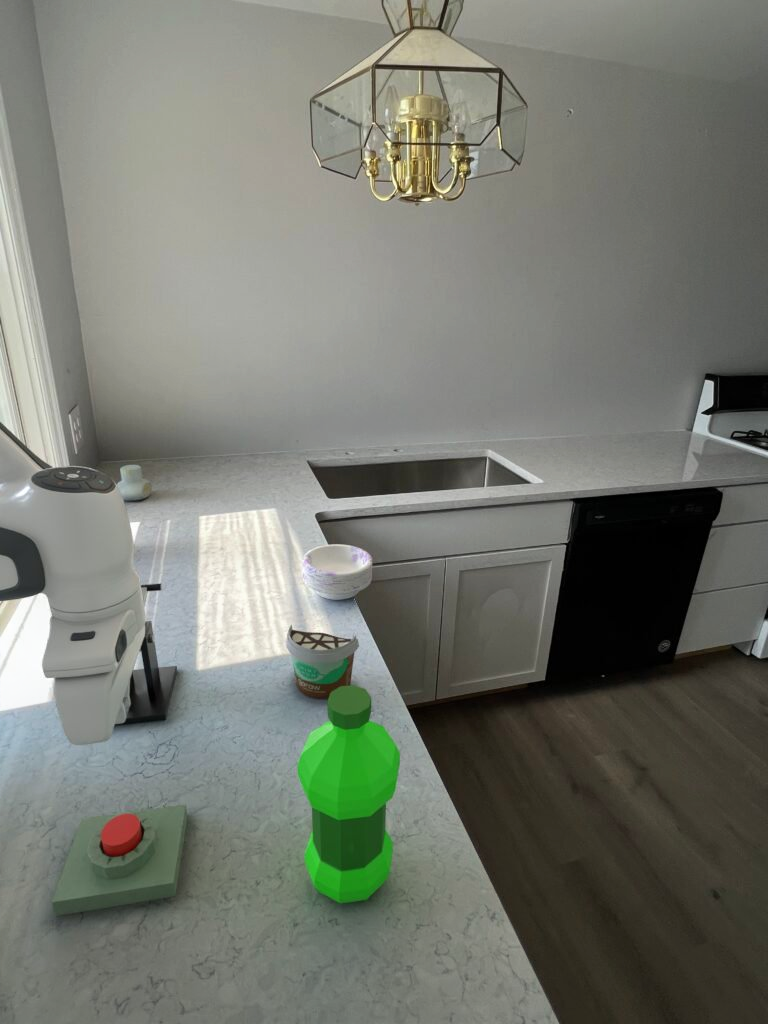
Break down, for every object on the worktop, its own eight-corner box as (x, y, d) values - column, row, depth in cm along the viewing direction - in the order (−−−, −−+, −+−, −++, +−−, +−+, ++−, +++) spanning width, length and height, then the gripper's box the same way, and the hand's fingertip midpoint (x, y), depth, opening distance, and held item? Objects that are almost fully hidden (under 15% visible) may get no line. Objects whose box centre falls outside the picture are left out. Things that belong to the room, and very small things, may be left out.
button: (98, 859, 61) (96, 848, 60) (108, 827, 64) (106, 816, 64) (137, 853, 61) (135, 842, 61) (145, 822, 65) (143, 811, 64)
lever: (128, 591, 95) (126, 581, 93) (162, 589, 96) (160, 579, 94) (113, 653, 85) (110, 644, 83) (152, 650, 86) (149, 640, 84)
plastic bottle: (292, 915, 59) (282, 731, 50) (318, 828, 69) (314, 660, 60) (385, 932, 58) (392, 747, 48) (399, 841, 67) (407, 671, 58)
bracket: (122, 676, 94) (110, 611, 90) (177, 671, 96) (168, 607, 91) (102, 727, 84) (88, 656, 79) (165, 720, 85) (155, 650, 80)
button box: (55, 916, 58) (48, 890, 57) (84, 831, 68) (78, 807, 66) (175, 896, 61) (171, 871, 59) (187, 817, 70) (184, 793, 68)
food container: (275, 696, 91) (272, 645, 87) (290, 673, 96) (288, 624, 93) (348, 710, 88) (348, 658, 84) (358, 685, 94) (359, 635, 90)
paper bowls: (385, 586, 125) (386, 554, 123) (343, 615, 114) (343, 581, 111) (332, 567, 133) (332, 537, 130) (288, 593, 122) (287, 560, 119)
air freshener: (130, 491, 179) (125, 461, 175) (155, 492, 178) (151, 462, 175) (113, 503, 168) (108, 472, 165) (140, 504, 168) (135, 473, 164)
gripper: (95, 572, 69) (113, 663, 74) (33, 676, 51) (63, 789, 56) (148, 568, 70) (163, 658, 76) (108, 668, 52) (130, 779, 57)
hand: (120, 715), depth 65 cm, fingers closed
